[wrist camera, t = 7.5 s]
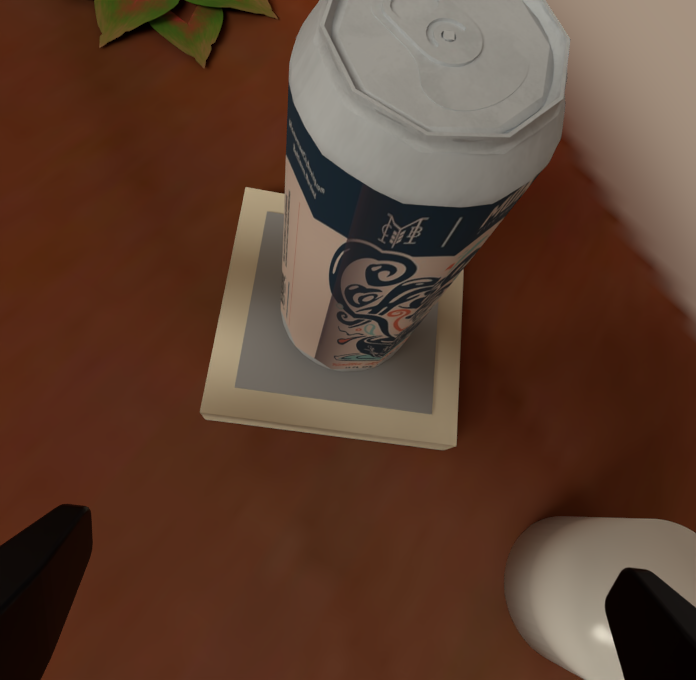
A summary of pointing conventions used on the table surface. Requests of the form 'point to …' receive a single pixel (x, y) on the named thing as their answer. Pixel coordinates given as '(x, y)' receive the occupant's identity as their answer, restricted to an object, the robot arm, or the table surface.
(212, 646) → the table surface
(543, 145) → the beer can
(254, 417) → the stand
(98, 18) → the lily flower
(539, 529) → the white rounded cylinder
